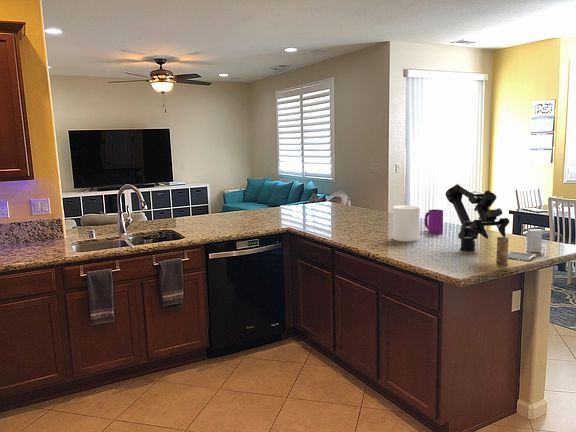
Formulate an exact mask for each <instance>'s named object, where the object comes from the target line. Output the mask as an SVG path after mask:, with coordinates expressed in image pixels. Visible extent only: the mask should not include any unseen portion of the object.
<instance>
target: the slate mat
mask: <svg viewBox="0 0 576 432" xmlns="http://www.w3.org/2000/svg"><path fill="white" fill-rule="evenodd" d="M535 256H536V257H537V254H536V253H529V252H522V251H521V252H520V251H515V250H511V251H510V253H508V258H511V259H510V260H514V259H520V260H519V261H522V260H528V261H527V262H530V261H529V260H531V259H532V258H534V257H535ZM536 257H535V258H536ZM535 258H534V259H535ZM532 260H533V259H532ZM532 260H531V261H532Z"/></svg>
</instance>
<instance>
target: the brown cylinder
mask: <svg viewBox="0 0 576 432" xmlns="http://www.w3.org/2000/svg"><path fill="white" fill-rule="evenodd" d="M508 254H509V237H506V236H505V237H503V236H497V238H496V257H495V258H496V259H495V260H496V262H495V263H496V265H498V266H507V265H508Z"/></svg>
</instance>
